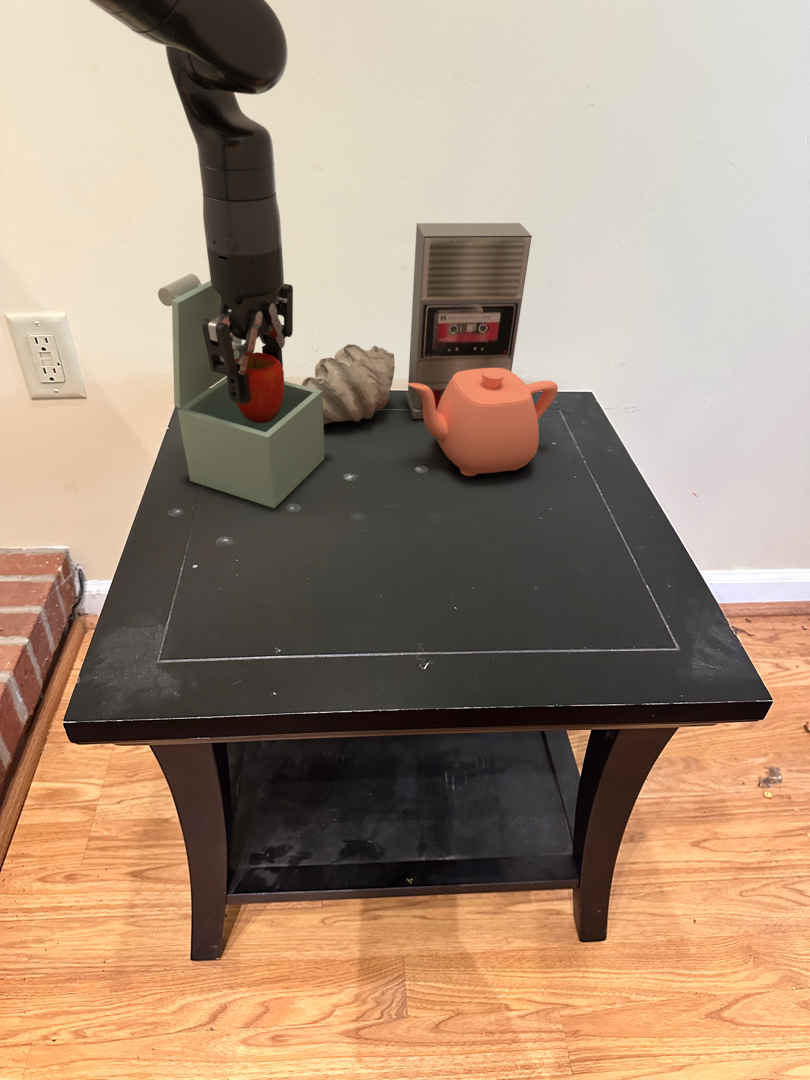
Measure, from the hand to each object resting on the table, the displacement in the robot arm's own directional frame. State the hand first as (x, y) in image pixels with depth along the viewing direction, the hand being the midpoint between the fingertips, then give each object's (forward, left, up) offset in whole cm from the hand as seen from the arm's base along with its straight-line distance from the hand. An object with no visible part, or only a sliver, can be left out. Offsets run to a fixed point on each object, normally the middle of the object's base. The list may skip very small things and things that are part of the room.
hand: (257, 388), depth 84 cm
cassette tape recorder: (+27, -15, -12) cm, 33 cm away
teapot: (+16, -23, -12) cm, 30 cm away
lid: (0, +6, +5) cm, 7 cm away
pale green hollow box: (0, +1, -12) cm, 12 cm away
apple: (0, 0, -4) cm, 4 cm away
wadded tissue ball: (+17, -3, -12) cm, 21 cm away
